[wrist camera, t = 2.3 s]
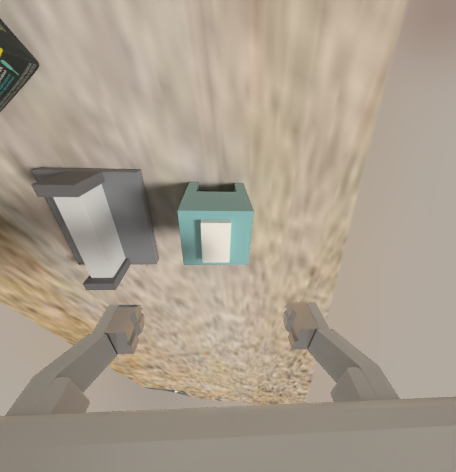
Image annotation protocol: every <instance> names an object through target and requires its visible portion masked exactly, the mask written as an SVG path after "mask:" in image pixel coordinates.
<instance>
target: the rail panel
mask: <svg viewBox="0 0 456 472" xmlns="http://www.w3.org/2000/svg"><path fill="white" fill-rule="evenodd" d="M32 172H33V174H34V176H35V178H36V180H37V183H34V184H32V187H33V189H34V191H35V192H36V194H37V196H38V197H45V198H46V200H47V202H48V204H49V206H50V208H51V210H52V212H53V214H54V216H55V218H56V220H57V222H58V224H59V226H60V228H61V230H62V232H63V234H64V236H65V238H66V240H67V242H68V244H69V246H70V248H71V250H72V252H73V254H74V256H75V258H76V260H77V262H78V264H79V265H80V264H85V266H86V268H87V270H88V272H89V274H90V276H89V277H88V278H87V279H86V281H85V282H84V283H83V285H84V287H85V289H86V290H116V288H117V287H118V285H119V283H120V281H121V280H122V278H123V276H124V275H125V273H126V271H127V270H128V268H129V266H130V264H157V262H158V260H159V256H158V251H157V246H156V241H155V236H154V232H153V227H152V222H151V217H150V212H149V207H148V202H147V197H146V192H145V187H144V183H143V178H142V173H141V170H137V169H91V168H46V167H41V168H38V169H34V170H32Z"/></svg>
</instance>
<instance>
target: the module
mask: <svg viewBox="0 0 456 472" xmlns="http://www.w3.org/2000/svg"><path fill="white" fill-rule="evenodd" d="M177 212H178V220H179V229H180V237H181V246H182V254H183V262H184V265H248V259H249V250H250V241H251V232H252V224H253V215H254V210H253V208H252V205H251V202H250V200H249V197H248V194H247V192H246V189H245V186H244V184H243V183H234V192H204V191H199V182H189V184H188V187H187V189H186V191H185V194H184V196H183V199H182V201H181V203H180V206H179V208H178V210H177Z"/></svg>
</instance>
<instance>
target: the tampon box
mask: <svg viewBox="0 0 456 472" xmlns="http://www.w3.org/2000/svg"><path fill="white" fill-rule="evenodd" d="M38 67H39V63H38V62H37V60H36V59H35V58H34V57H33V55H32V54H31V53H30V52H29V51H28V50H27V49H26V48H25V46H24V45H23V44H22V43H21V42H20V41H19V40H18V38H17V37H16V36H15V35H14V34H13V33H12V32H11V30H10V29H9V28H8V27H7V26H6V25H5V24H4V22H3V21H2V20H1V19H0V111H1V110H2V109H3V108H4V107H5V106H6V105H7V104H8V103H9V101H10V100H11V99H12V98H13V97H14V96H15V95H16V94H17V92H18V91H19V90H20V89H21V88H22V87H23V86H24V85H25V83H26V82H27V81H28V80H29V79H30V77H31V76H32V75H33V74H34V73H35V71H36V70H37V69H38Z"/></svg>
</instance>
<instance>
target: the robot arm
mask: <svg viewBox="0 0 456 472" xmlns="http://www.w3.org/2000/svg"><path fill="white" fill-rule="evenodd" d="M286 308H287V310H286V311H285V312H284V325H285V329H286V330H287V331H288V332H289V336H288V338H289V341H290V344H291V347H292V349H308V351H309V352H310V353H311V355H312V356H313V357H314V358H315V359H316V360H317V361H318V362H319V363H320V365H321V366H322V367H323V368H324V369H325V370H326V371H327V373H328V374H329V375H330V376H331V377H332V378H333V379H334V381H335V382H336V383H337V384H336V385H335V386H334V388H333V389H332V391H331V396H332V398H333V401H334V402H323V403H299V404H275V405H253V406H230V407H206V408H184V409H160V410H136V411H112V412H90V413H86V410H87V408H88V406H89V404H90V403H89V400H88V398H87V397H86V396H85V395H84V394H83V392H84V391H85V390H86V389H87V388H88V387H89V386H90V384H91V383H92V382H93V381H94V380H95V379H96V378H97V377H98V376H99V375H100V373H101V372H102V371H103V370H104V369H105V368H106V367H107V366H108V365H109V364H110V363H111V362H112V360H113V359H114V358H115V357H116V356H117V354H132V353H134V352H135V350H136V347H137V344H138V341H139V340H138V337H137V336H138V335H139V334H140V333H141V332H142V330H143V327H144V315H143V314H142V313H141V310H142V308H141V306H140V305H110V306H109V307H108V308H107V309H106V311H105V312H104V314H103V316H102V318H101V319H100V321H99V323H98V324H97V326H96V328H95V329H94V331H93V333H92V334H88V335H87V336H86V337H84V338H83V339H82V340H80V341H79V342H78V343H77V344H75V345H74V346H73V347H71V348H70V349H69V350H68V351H66V352H65V353H64V354H62V355H61V356H60V357H58V358H57V359H56V360H54V361H53V362H52V363H50V364H49V365H48V366H47V367H45V368H44V369H43V370H41V371H40V372H39V373H37V374H36V375H35V376H34V377H33V378H32V379H31V380H30V382H29V383H28V385H27V386H26V387H25V389H24V390H23V391H22V393H21V394H20V396H19V397H18V399H17V400H16V401H15V403H14V404H13V406H12V407H11V408H10V410H9V411H8V412H7V414H6V415H5V416H0V472H456V397H439V398H417V399H400V398H399V397H398V395H397V394H396V392H395V390H394V389H393V387H392V386H391V384H390V383H389V381H388V380H387V378H386V377H385V375H384V374H383V372H382V370H381V369H380V367H379V366H378V365H377V364H376V363H374V362H373V361H372V360H371V359H369V358H368V357H367V356H366V355H364V354H363V353H362V352H361V351H359V350H358V349H357V348H356V347H354V346H353V345H352V344H351V343H349V342H348V341H347V340H346V339H344V338H343V337H342V336H341V335H339V334H338V333H337V332H335V331H334V330H333V329H329V327H328V325H327V323H326V321H325V319H324V317H323V315H322V314H321V312H320V310H319V308H318V306H317V304H316V303H315V302H291V303H287V305H286Z"/></svg>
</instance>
